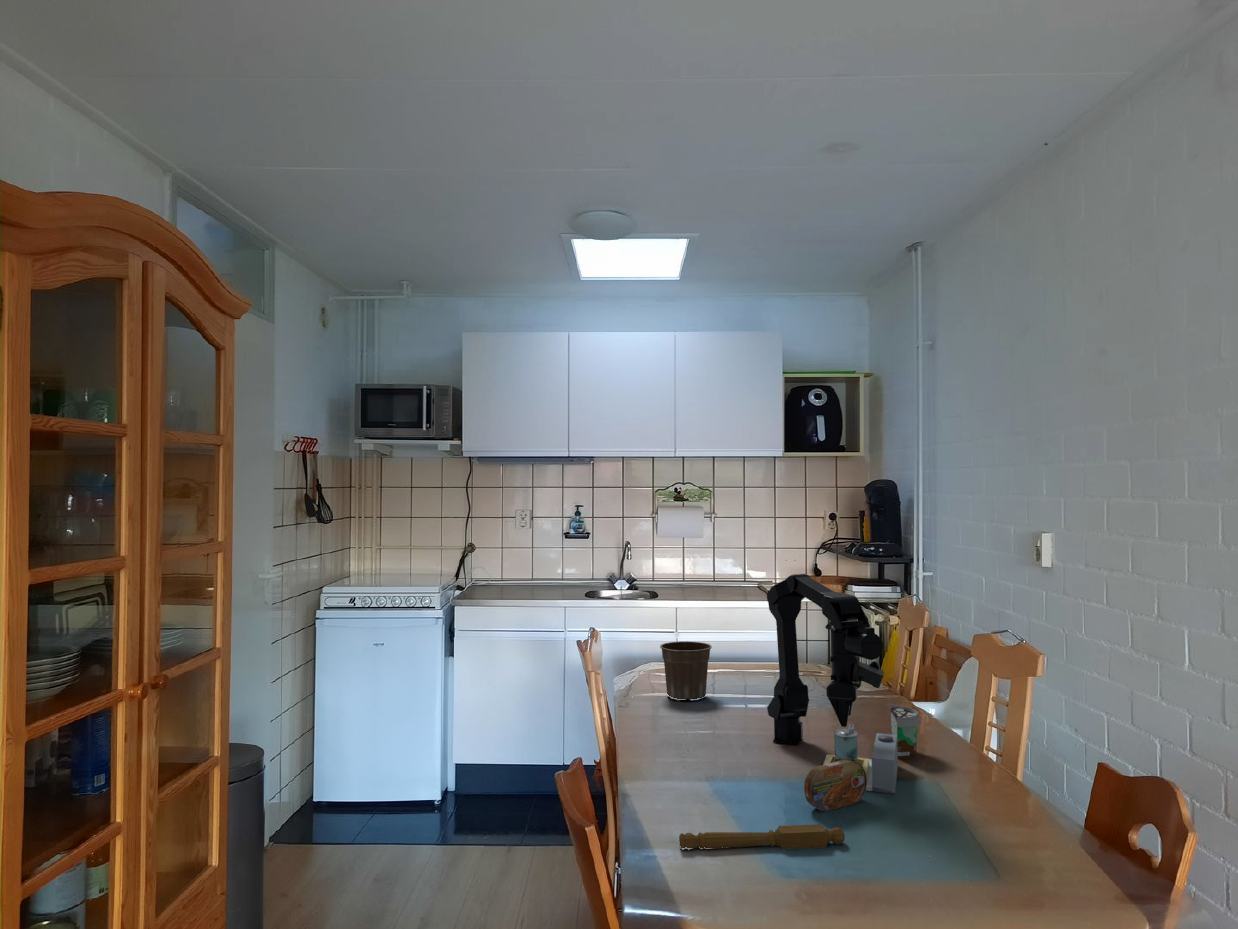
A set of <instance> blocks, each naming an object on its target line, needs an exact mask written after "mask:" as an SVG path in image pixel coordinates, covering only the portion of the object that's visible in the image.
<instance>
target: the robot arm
mask: <svg viewBox="0 0 1238 929" xmlns="http://www.w3.org/2000/svg"><path fill="white" fill-rule="evenodd" d="M805 598H806V599H807V600H809V601H810V602H812V603H814V604H815V605H816V606H818V607H819V608H821V614H822V615H823V616H824V617H825V618H826V619H827V620H828V621H829V622H828V623H827V624H826V625H825V627H824V628H825V629H826V630H829V631H830V654H831V655H830V657H829V662H831V674H830V682H829V683H828V684H827V686H826V688H825V689H826V697H827V699H828V700H829V702H830V705H831V706H832V708H833V711H834V712H835V716H836V717H837V719H838V722H839V724H840V726H841V727H843V728H846V727H847V726H848V721H849V717H850V716H851V715H852V714H851V713H852V709H853V708H852V707H853V703H854V702H855V701H856V700H857V698H858V690H859V689H860V687H861V685H862V683H863V682H864V683H866V684H869V685H871V686H872V687H873V688H876V689H880V688H881V684H882V682H883V679H884V676H885V671H884V669H881V667H880V663H879V662H877V661H875V660H876V659H878V658H880V657H881V655H882V653H883V650H884V643H883V641H882V638H881V637H880V636H879V635H878V634H876V633H875V632H876V631H875V627H872V626H871V624H870V622H869V619H868V616H867V615H866V613H865V611H864V609H863V607H862V605H861V602H860V600H859V598H858V597H856V596H855V595H851V594H848V593H843V592H837V591H834V590H832V589H830V588H829V587H826V586H825V585H823V584H822V583H820V582H818V581H816V580H815V579H813V578H812V577H811V576H809V574H806V573H797V574H794V573H793V574H791V575H789V576H788V577H786V578H785V579H784V580H782V581H780V582H778V583H776V584H774V585H773V586H771V587H770V588H769V590H768V591H767V593H766V600H767V603H768V604H767V605H768V610H769V612H770V613H771V615H772V616H773V618H774V619H775V624H776V637H777V638H776V641H777V642H776V643H777V655H778V669H779V670H778V671H779V673H778V675H779V678H778V679H777V681H776V683H775V685H774V688H773V698H772V699H771V701H770V702H769V703H768V705H767V708H766V710H767V714H768V715H767V716H769V717H770V718H773V724H774V725H773V727H774V728H773V729H774V733H773V735H774V738H773V739H772V742H773V743H775V742H777V743H778V744H784V743H785V744H787V745H794V746H798V745H800V742H801V741H802V740H803V738H804V730H803V729H804V725H803V721H801V718H802V717H803V718H804V717H806V718H807V714H808V713H807V712H808V708H809V702H810V698H809V687H808V685H807V684H804V682H803V681H802V679H801V678H800V670H799V669H800V667H799V653H798V642H797V641H798V636H797V624H796V620H797V617H798V616H799V614H800V612H801V610H802V601H803V600H804V599H805ZM861 658H862V659H866V660H869V661H871V662H869V664H868V663H866V662H862V661H861V660H860V659H861ZM777 743H776V744H777Z"/></svg>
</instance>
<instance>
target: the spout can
mask: <svg viewBox="0 0 1238 929" xmlns="http://www.w3.org/2000/svg"><path fill="white" fill-rule="evenodd" d="M847 726H848V727H847V728H837V729H834V731H833V734H834V755H835V762H837V761H841V760H849V761H853V762H857V763H858V758H859V746H858V745H859V744H858V742H859V741H858V735H859V734H858V733H859V732H858V731H857V730H855V724H854V723H847Z"/></svg>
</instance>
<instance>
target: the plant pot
mask: <svg viewBox="0 0 1238 929" xmlns="http://www.w3.org/2000/svg"><path fill="white" fill-rule="evenodd" d="M659 647H660V649H661V653H662V654H661V656H662V657H661V658H662V660H663V665H664V678H665V684H666V685H665V686H666V695H667V694H668V695H669V696H671V697H673V698H677V699H697V698H702V697H704V696H705V695H706V696H707V685H708V684H707V682H708V667H709V666H708V665H709V660H710V655H711V649H712V645H711V644H710V643H706V642H700V641H688V640H687V641H685V640H684V641H681V640H680V641H670V642H664V643H662V644H660V645H659Z"/></svg>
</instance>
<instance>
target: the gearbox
mask: <svg viewBox="0 0 1238 929" xmlns="http://www.w3.org/2000/svg"><path fill="white" fill-rule="evenodd" d="M873 744H874V745H873V747H872V748H873V749H872V755H871V758H865V757H858V763H859V764H860V765H861V766H862V767H863V768H864V770H865V773H866V777H867V786H866V790H865V791H869V792H875V793H877V792H878V793H882V794H883V793H885V794H892V795H895V794H896V788H897V787H896V786H897V777H898V776H897V775H898V766H899V764H898V760H899V759H897V735H891V733H890V734H889V733H888V734H887V733H880V732H879V733H878V732H877V733H876V735H875V739H874V743H873ZM833 762H835V754H826V756H825V759H824V761H823V764H822V765H825V764H829V763H833Z"/></svg>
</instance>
